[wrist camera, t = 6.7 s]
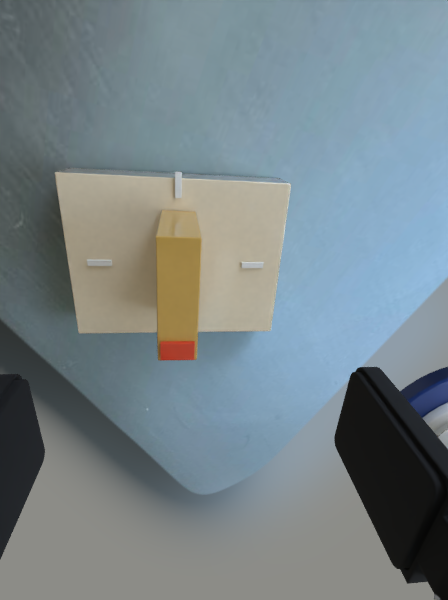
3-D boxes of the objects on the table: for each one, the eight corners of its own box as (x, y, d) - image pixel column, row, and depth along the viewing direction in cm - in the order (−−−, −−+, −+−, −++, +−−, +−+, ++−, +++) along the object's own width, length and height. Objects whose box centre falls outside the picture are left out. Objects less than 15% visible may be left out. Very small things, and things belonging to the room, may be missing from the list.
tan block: (161, 209, 19) (155, 237, 14) (196, 211, 20) (202, 239, 15) (162, 310, 22) (157, 363, 17) (192, 310, 22) (197, 363, 17)
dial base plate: (280, 172, 22) (293, 177, 19) (262, 318, 26) (270, 336, 24) (66, 161, 20) (51, 165, 18) (88, 319, 25) (78, 339, 22)
